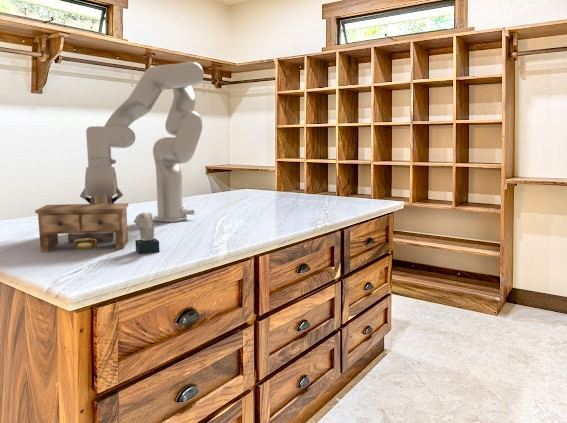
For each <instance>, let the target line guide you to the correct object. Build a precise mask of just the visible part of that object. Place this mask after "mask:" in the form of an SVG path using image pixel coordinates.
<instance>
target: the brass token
mask: <svg viewBox="0 0 567 423" xmlns="http://www.w3.org/2000/svg"><path fill="white" fill-rule="evenodd" d="M97 244H98V242H97V239H95V238H81V239H76V240H74V244H73V245H74V250H77V251H88V250H94V249H96V248H97V247H98V245H97Z"/></svg>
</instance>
